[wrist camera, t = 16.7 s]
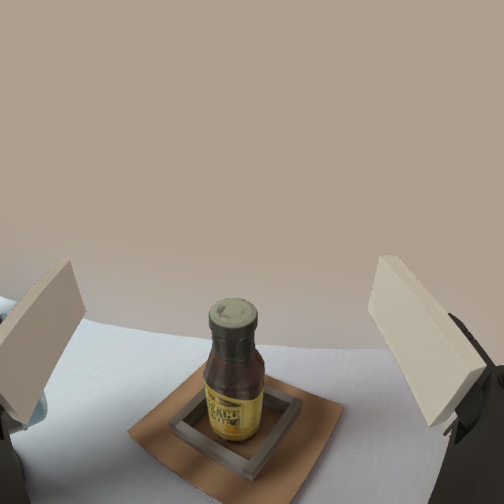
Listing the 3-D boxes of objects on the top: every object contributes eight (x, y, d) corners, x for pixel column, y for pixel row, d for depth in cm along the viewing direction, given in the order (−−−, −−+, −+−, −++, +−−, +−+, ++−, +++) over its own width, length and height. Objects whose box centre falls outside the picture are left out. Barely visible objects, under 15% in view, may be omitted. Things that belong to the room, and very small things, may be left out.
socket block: (130, 436, 31) (118, 418, 29) (217, 357, 46) (214, 336, 44) (271, 528, 20) (274, 522, 18) (342, 411, 36) (350, 391, 33)
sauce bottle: (201, 425, 33) (175, 306, 24) (236, 400, 37) (229, 279, 28) (236, 456, 28) (226, 346, 20) (272, 427, 33) (283, 308, 24)
